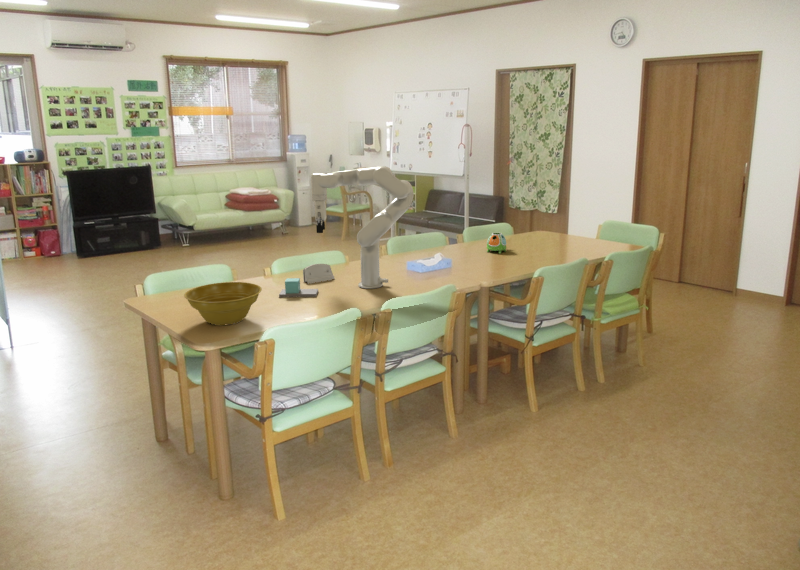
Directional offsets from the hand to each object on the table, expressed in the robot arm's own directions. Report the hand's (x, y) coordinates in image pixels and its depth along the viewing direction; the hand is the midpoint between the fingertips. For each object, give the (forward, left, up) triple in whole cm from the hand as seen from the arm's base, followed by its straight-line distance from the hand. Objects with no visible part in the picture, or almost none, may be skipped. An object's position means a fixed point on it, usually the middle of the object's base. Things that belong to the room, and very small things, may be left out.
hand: (320, 231), depth 336 cm
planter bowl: (+36, +61, -28) cm, 76 cm away
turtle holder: (-104, -81, -29) cm, 135 cm away
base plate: (+10, +19, -28) cm, 36 cm away
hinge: (+4, -10, -29) cm, 31 cm away
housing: (+13, +19, -27) cm, 35 cm away
